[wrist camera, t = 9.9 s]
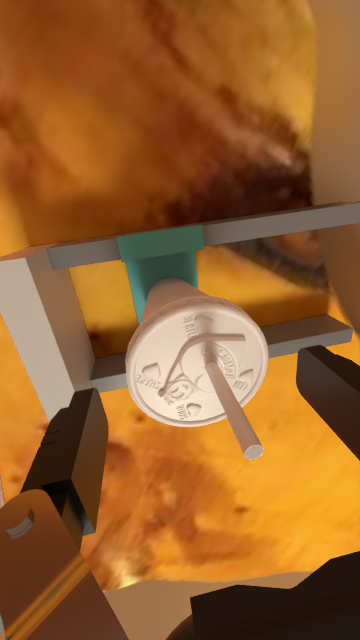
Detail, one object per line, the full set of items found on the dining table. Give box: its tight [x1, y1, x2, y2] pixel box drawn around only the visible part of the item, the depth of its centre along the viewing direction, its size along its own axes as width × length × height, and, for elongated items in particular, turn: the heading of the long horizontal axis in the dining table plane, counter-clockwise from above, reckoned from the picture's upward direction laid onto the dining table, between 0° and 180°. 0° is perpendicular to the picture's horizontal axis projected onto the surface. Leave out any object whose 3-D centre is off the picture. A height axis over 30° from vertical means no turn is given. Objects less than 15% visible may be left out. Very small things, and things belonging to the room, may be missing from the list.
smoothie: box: [125, 277, 268, 460], centre depth 13 cm, size 6×6×14 cm
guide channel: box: [0, 201, 360, 422], centre depth 17 cm, size 22×11×6 cm, turn 97°
